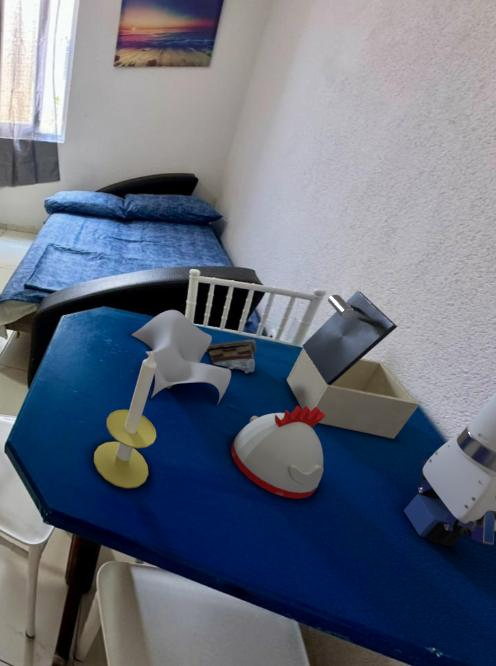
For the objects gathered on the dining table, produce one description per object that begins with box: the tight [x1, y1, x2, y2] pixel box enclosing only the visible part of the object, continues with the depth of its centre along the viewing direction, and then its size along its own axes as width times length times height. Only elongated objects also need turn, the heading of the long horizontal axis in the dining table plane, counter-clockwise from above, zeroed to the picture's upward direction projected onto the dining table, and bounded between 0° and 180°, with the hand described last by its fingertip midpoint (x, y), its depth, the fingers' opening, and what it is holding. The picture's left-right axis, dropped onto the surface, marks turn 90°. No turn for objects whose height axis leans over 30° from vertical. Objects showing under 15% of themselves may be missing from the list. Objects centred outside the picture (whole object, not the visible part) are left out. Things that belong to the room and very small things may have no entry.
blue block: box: [403, 494, 464, 538], centre depth 66 cm, size 4×4×4 cm
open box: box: [286, 347, 420, 440], centre depth 89 cm, size 16×14×10 cm
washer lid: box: [301, 290, 398, 385], centre depth 85 cm, size 16×14×7 cm
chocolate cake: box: [205, 338, 258, 374], centre depth 103 cm, size 10×7×12 cm
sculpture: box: [131, 309, 232, 406], centre depth 100 cm, size 25×19×10 cm
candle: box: [93, 350, 157, 489], centre depth 70 cm, size 10×10×27 cm
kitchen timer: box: [230, 405, 326, 500], centre depth 74 cm, size 14×14×15 cm
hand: (428, 525), depth 67 cm, fingers closed on blue block, 4 cm apart
